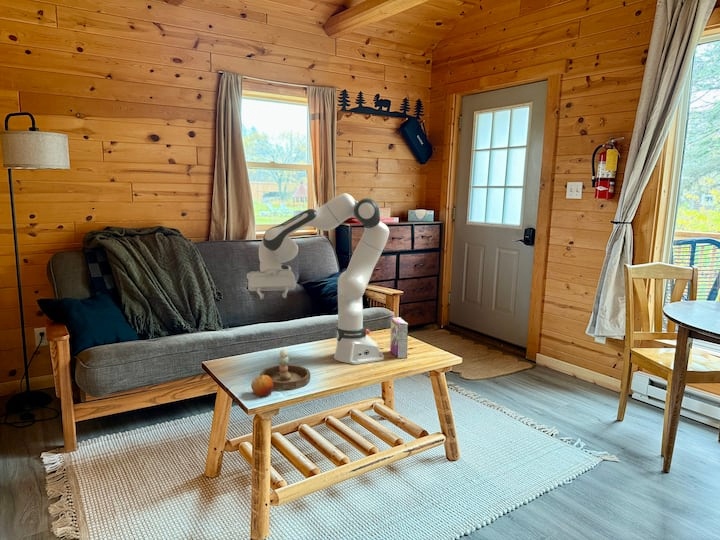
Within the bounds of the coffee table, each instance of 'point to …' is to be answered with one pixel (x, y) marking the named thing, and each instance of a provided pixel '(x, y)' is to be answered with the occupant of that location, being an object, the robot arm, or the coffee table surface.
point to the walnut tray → (295, 377)
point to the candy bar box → (399, 337)
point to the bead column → (283, 362)
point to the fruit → (262, 386)
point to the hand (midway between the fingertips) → (273, 297)
